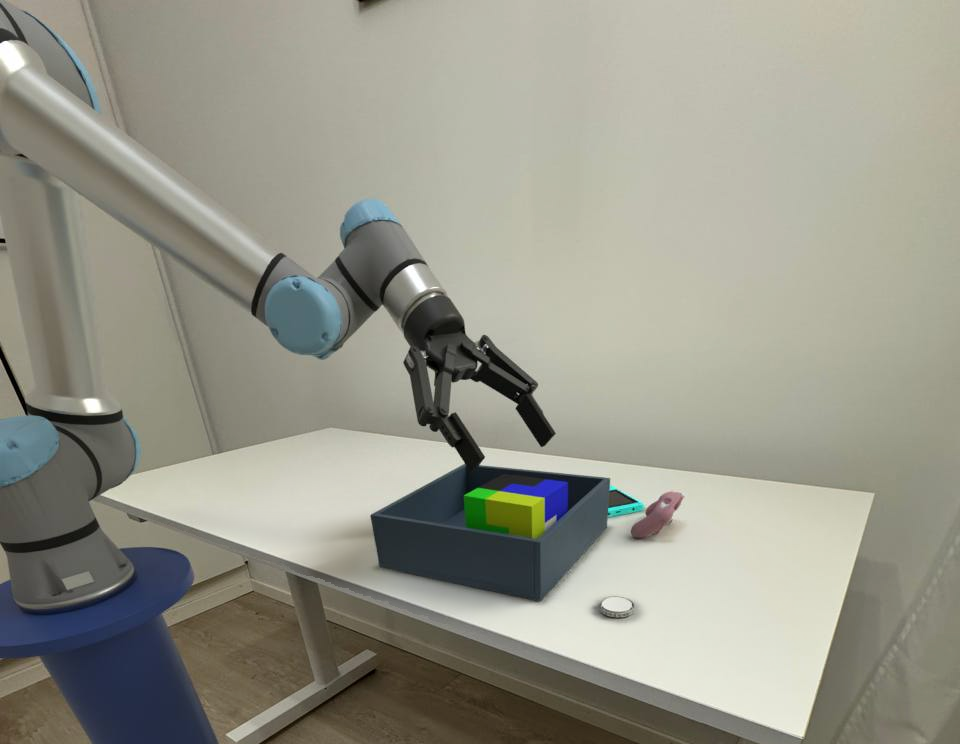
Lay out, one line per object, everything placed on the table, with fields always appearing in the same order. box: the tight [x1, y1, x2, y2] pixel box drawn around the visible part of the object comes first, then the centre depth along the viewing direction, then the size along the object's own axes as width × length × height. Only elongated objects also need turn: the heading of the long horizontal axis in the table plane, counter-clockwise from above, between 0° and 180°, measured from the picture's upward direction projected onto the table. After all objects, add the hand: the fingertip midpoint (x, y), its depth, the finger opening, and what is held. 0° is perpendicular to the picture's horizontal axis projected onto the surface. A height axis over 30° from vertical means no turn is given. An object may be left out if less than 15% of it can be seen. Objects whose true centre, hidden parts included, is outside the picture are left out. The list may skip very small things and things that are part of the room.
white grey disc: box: [599, 596, 635, 618], centre depth 66 cm, size 4×4×1 cm
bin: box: [370, 463, 611, 602], centre depth 82 cm, size 26×26×8 cm
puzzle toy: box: [464, 474, 568, 539], centre depth 75 cm, size 10×10×10 cm
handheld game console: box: [608, 484, 645, 518], centre depth 98 cm, size 10×16×1 cm, turn 19°
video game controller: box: [630, 489, 685, 539], centre depth 84 cm, size 10×5×7 cm, turn 151°
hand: (515, 452), depth 71 cm, fingers open, 13 cm apart
